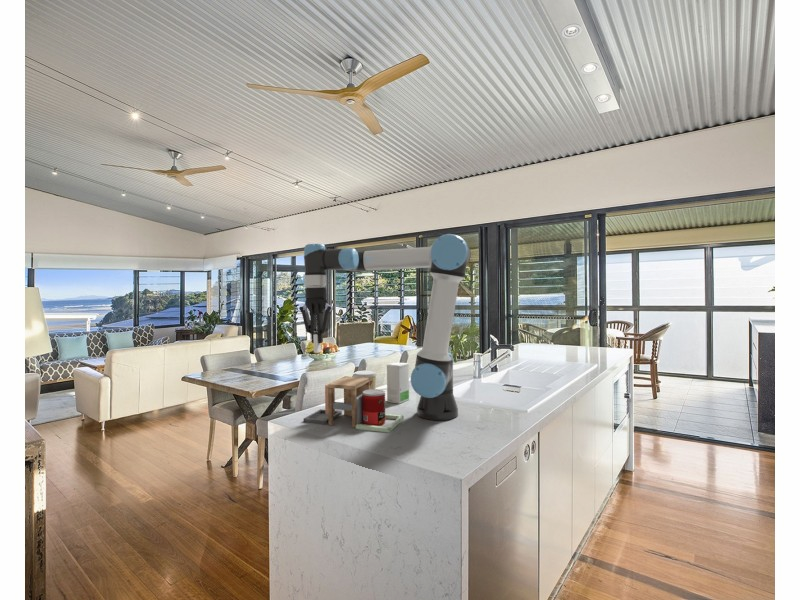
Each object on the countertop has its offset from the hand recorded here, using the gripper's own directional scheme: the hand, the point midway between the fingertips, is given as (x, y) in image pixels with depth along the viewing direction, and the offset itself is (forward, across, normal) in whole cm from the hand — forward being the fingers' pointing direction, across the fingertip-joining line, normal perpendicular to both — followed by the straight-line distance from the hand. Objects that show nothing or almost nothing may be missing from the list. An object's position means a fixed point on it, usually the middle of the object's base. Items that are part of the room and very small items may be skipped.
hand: (317, 352), depth 151 cm
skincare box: (+25, -20, -30) cm, 44 cm away
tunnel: (+24, -12, 0) cm, 27 cm away
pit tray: (+24, -2, 0) cm, 24 cm away
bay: (+24, -23, 0) cm, 34 cm away
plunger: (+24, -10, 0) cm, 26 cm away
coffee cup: (+24, -7, -26) cm, 36 cm away
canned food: (+25, -21, 0) cm, 32 cm away
